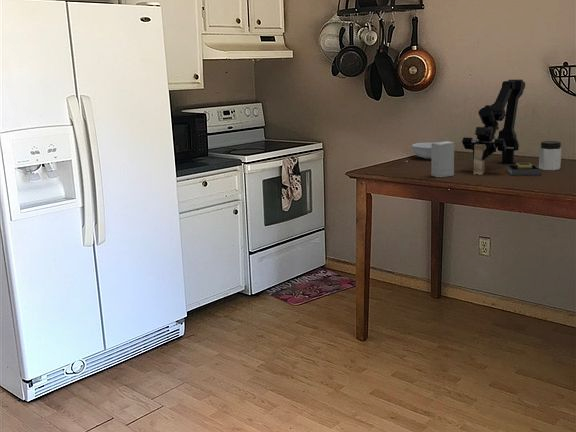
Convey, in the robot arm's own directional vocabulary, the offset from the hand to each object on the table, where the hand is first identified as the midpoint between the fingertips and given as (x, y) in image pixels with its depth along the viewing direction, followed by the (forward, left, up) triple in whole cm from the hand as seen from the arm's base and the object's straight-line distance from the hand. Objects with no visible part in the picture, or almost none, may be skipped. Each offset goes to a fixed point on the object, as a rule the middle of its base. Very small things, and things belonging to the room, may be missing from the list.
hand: (478, 159), depth 279 cm
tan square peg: (-1, +1, -7) cm, 7 cm away
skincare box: (+3, -15, -7) cm, 17 cm away
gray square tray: (-2, +20, -7) cm, 21 cm away
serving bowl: (-47, -16, -7) cm, 51 cm away
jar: (-12, +33, -7) cm, 36 cm away
